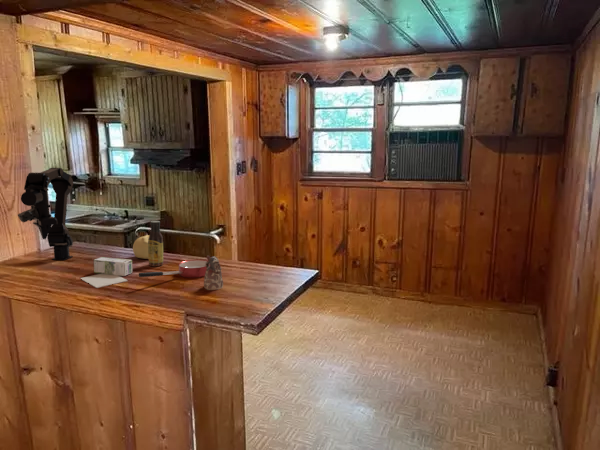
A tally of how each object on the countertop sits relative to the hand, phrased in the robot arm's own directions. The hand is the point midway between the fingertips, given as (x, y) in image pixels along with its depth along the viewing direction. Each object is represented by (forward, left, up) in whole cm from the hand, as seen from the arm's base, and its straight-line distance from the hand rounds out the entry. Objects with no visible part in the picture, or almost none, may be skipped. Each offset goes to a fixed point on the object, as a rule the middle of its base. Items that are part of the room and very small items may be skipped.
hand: (44, 239), depth 183 cm
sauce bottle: (-11, +44, -13) cm, 47 cm away
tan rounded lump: (-23, +34, -13) cm, 43 cm away
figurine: (+15, +78, -13) cm, 80 cm away
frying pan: (+7, +61, -13) cm, 63 cm away
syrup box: (+3, +24, -10) cm, 26 cm away
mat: (+12, +32, -13) cm, 37 cm away
